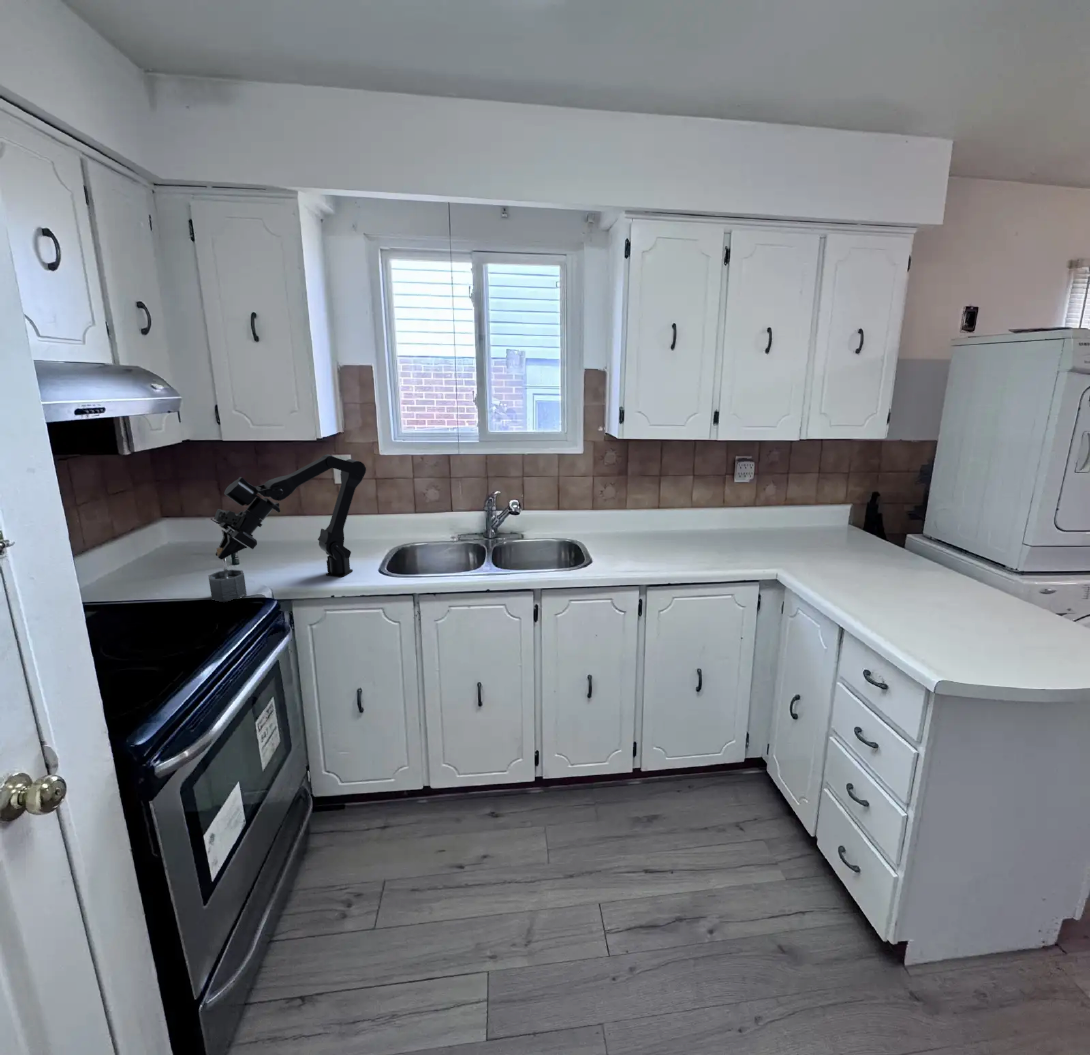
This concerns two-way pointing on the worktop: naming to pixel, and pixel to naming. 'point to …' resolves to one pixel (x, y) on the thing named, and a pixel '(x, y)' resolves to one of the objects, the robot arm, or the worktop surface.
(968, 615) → the worktop surface
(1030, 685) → the worktop surface
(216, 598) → the grey octagonal pot
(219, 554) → the plunger
